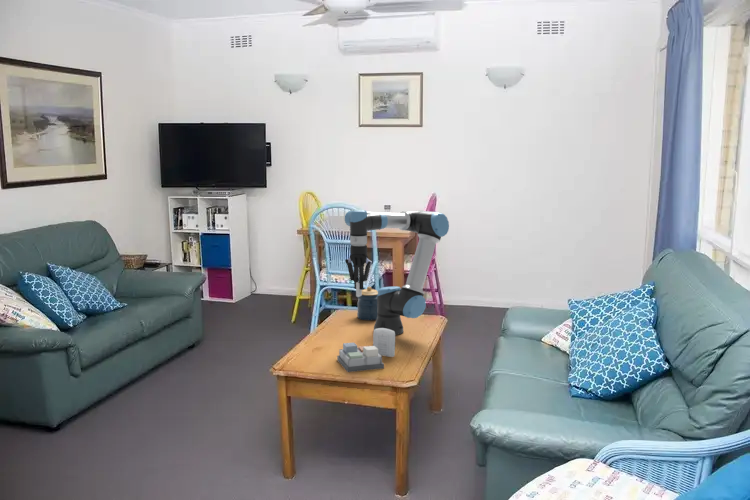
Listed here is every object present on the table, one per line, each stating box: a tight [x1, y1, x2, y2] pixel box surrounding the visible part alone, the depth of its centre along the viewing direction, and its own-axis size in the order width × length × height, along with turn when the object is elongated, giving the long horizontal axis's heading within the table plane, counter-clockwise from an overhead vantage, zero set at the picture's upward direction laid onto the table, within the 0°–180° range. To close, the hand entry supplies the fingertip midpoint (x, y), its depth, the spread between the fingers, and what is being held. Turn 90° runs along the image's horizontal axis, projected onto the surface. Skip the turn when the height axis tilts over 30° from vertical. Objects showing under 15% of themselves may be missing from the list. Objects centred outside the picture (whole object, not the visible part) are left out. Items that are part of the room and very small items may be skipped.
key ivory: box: [363, 345, 378, 357], centre depth 264 cm, size 5×5×4 cm
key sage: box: [348, 352, 362, 359], centre depth 262 cm, size 5×5×4 cm
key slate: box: [342, 342, 358, 354], centre depth 268 cm, size 5×5×4 cm
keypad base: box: [336, 347, 385, 373], centre depth 266 cm, size 16×16×5 cm
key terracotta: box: [357, 345, 367, 352], centre depth 271 cm, size 5×5×4 cm
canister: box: [356, 286, 378, 321], centre depth 343 cm, size 13×13×18 cm
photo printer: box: [372, 328, 396, 358], centre depth 279 cm, size 10×4×12 cm, turn 69°
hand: (358, 296), depth 282 cm, fingers closed
